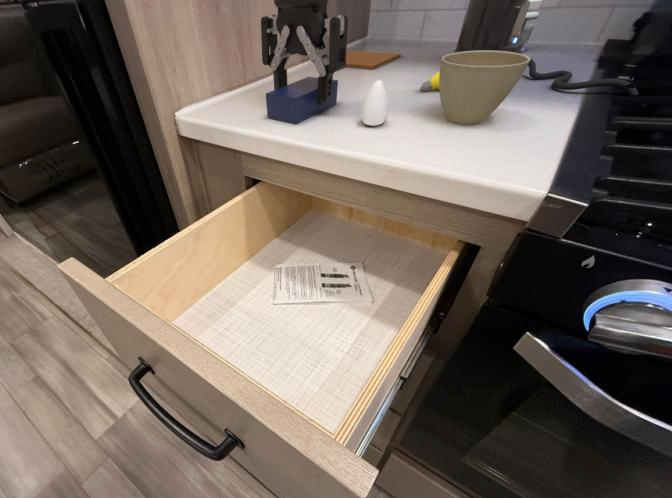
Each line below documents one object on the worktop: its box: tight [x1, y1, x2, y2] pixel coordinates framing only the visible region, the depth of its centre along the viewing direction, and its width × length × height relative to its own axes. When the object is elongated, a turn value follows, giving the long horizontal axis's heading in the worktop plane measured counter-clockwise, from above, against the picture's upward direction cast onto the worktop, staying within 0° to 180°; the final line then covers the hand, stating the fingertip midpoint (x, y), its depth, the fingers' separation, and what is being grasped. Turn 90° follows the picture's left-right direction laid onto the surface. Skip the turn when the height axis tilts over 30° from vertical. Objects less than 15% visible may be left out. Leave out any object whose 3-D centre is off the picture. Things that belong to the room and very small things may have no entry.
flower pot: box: [439, 50, 531, 126], centre depth 43 cm, size 10×10×7 cm
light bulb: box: [420, 69, 440, 93], centre depth 55 cm, size 3×6×4 cm, turn 95°
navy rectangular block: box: [265, 76, 339, 125], centre depth 52 cm, size 11×6×4 cm, turn 138°
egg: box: [360, 79, 390, 127], centre depth 45 cm, size 4×4×6 cm
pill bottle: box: [516, 0, 543, 53], centre depth 69 cm, size 5×5×8 cm
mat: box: [345, 50, 402, 70], centre depth 76 cm, size 14×13×1 cm
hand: (301, 100), depth 52 cm, fingers open, 8 cm apart
